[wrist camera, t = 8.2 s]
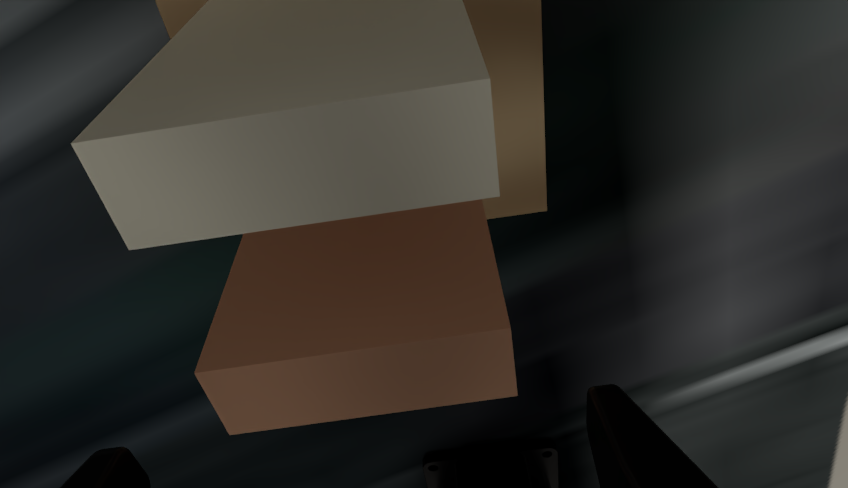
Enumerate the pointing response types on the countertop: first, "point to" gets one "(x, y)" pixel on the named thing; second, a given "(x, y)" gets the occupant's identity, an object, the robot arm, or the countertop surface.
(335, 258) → the domino
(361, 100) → the domino
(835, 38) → the countertop surface
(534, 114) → the domino board
